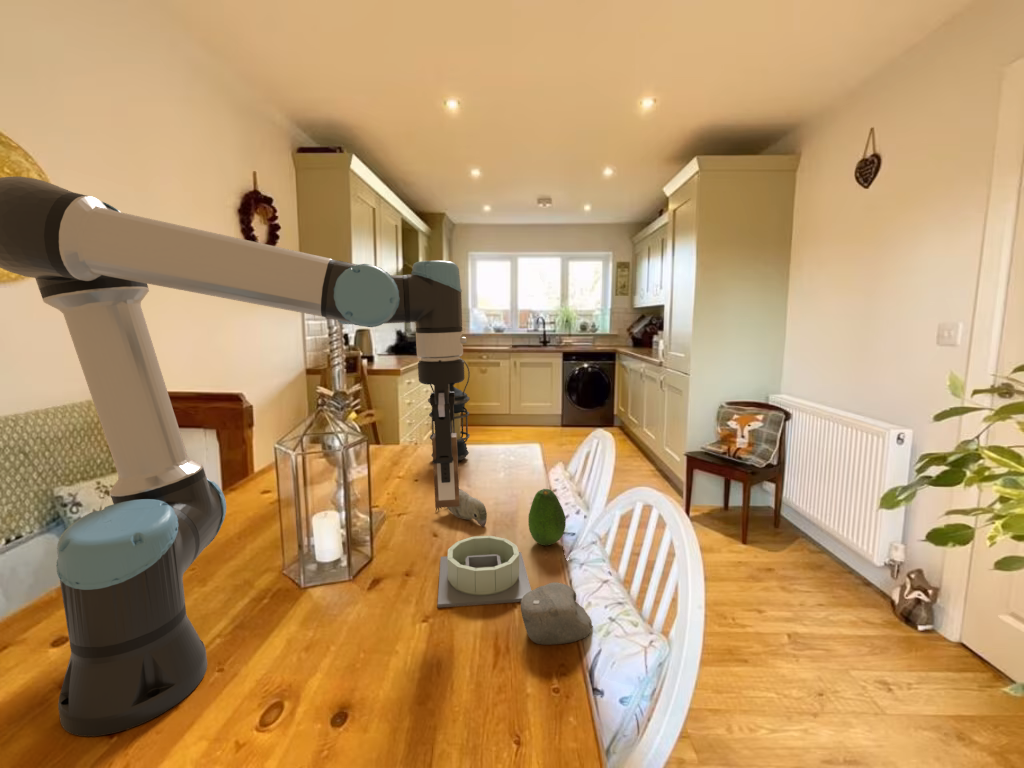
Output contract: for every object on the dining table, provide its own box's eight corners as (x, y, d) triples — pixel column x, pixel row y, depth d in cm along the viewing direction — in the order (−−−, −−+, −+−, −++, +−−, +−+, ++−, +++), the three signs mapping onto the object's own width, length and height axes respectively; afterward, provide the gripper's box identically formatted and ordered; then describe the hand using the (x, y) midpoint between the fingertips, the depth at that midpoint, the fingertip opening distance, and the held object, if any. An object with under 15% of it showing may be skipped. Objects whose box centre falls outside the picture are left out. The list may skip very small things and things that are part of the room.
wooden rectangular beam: (459, 506, 82) (456, 437, 80) (435, 507, 81) (431, 438, 80) (459, 499, 85) (456, 432, 83) (436, 501, 84) (432, 434, 83)
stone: (602, 648, 70) (571, 592, 69) (548, 677, 70) (516, 622, 69) (588, 611, 79) (560, 561, 78) (540, 636, 79) (511, 587, 78)
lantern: (423, 464, 157) (419, 356, 152) (436, 453, 169) (433, 353, 165) (466, 466, 154) (463, 357, 149) (475, 455, 167) (474, 353, 162)
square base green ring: (533, 600, 82) (533, 572, 81) (437, 607, 80) (436, 578, 79) (521, 554, 98) (521, 530, 97) (440, 559, 96) (440, 534, 95)
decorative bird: (475, 531, 108) (475, 500, 107) (431, 512, 119) (430, 483, 118) (493, 524, 112) (492, 493, 111) (448, 506, 123) (447, 478, 122)
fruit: (520, 544, 102) (520, 489, 100) (544, 532, 108) (544, 480, 106) (549, 557, 97) (550, 499, 95) (573, 543, 102) (573, 488, 101)
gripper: (463, 362, 72) (470, 512, 75) (463, 353, 88) (468, 478, 91) (412, 364, 71) (421, 515, 75) (421, 355, 87) (428, 480, 90)
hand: (447, 494), depth 83 cm, fingers closed on wooden rectangular beam, 3 cm apart
